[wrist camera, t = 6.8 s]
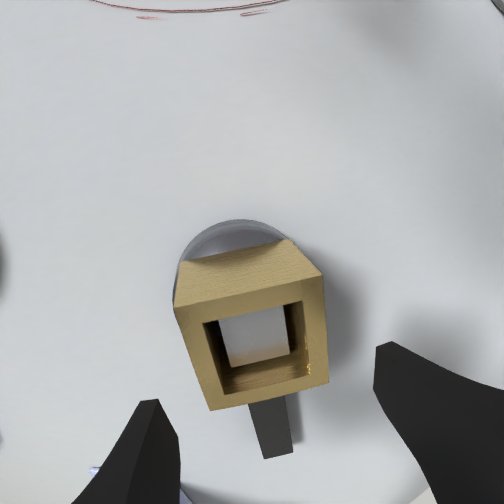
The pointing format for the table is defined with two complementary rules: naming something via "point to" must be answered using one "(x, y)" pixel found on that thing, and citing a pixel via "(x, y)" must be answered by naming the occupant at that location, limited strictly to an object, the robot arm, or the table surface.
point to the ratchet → (250, 328)
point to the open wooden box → (246, 301)
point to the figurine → (188, 10)
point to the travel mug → (499, 4)
